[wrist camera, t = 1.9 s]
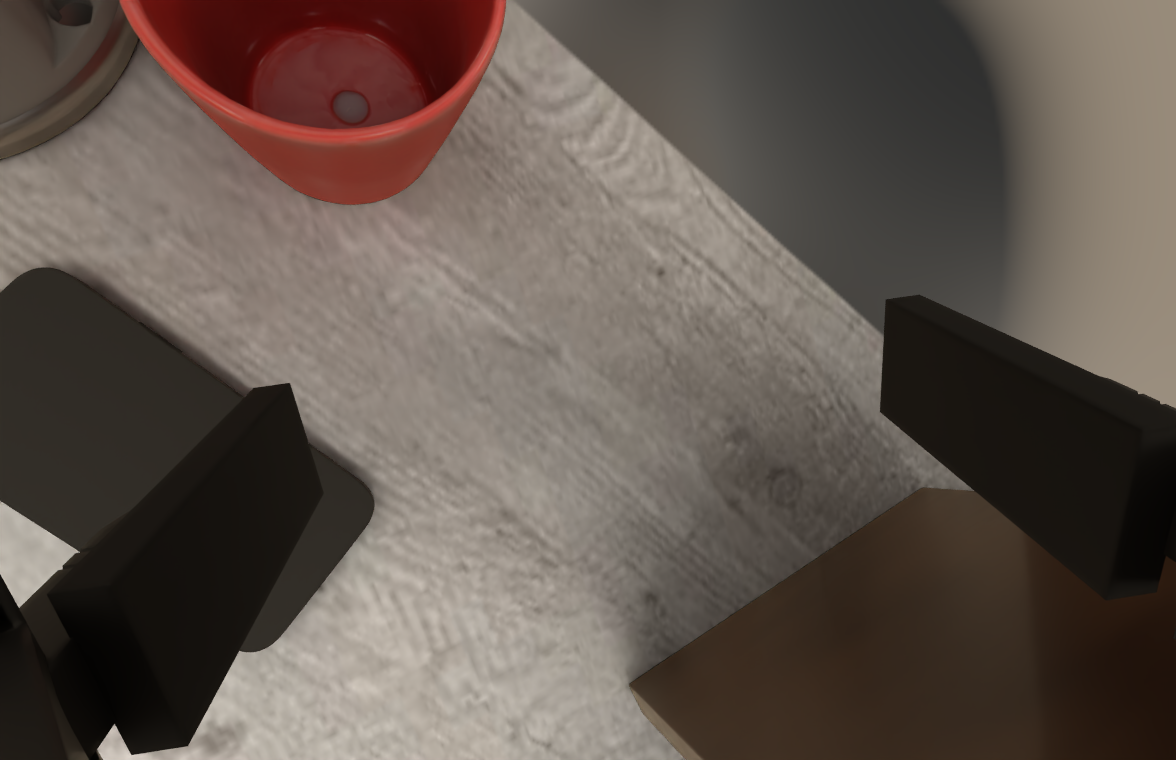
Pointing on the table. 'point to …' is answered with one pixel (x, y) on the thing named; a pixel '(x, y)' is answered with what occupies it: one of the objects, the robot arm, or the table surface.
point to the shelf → (928, 654)
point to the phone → (129, 430)
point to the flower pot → (327, 81)
